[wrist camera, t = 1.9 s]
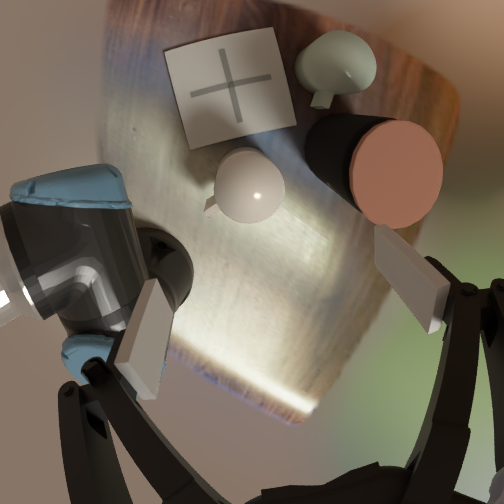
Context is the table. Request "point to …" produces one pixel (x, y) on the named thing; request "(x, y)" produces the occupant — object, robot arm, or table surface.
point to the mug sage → (335, 67)
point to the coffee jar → (377, 165)
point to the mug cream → (246, 187)
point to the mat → (230, 87)
